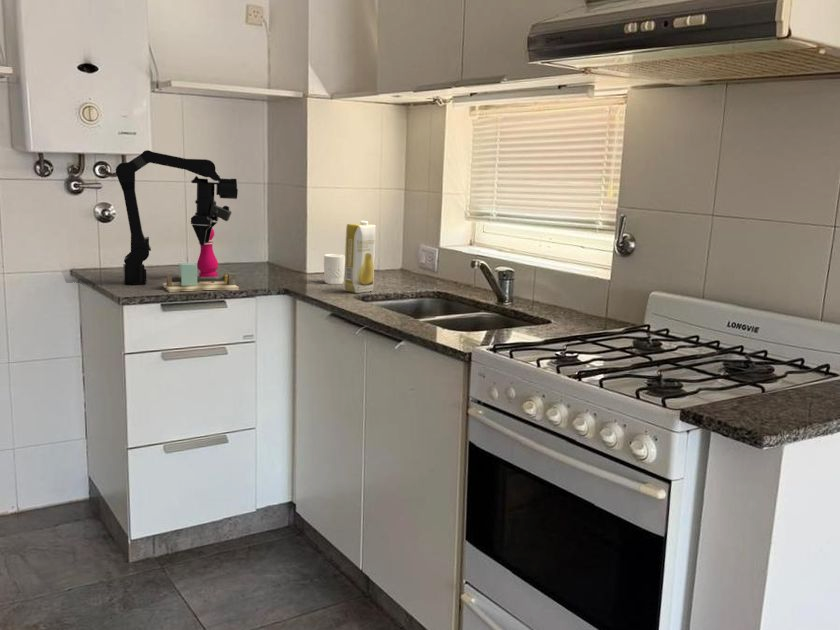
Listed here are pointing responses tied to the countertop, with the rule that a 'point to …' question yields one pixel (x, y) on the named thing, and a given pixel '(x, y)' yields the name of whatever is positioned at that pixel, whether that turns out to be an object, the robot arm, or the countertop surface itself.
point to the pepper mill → (207, 259)
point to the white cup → (334, 268)
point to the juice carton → (359, 257)
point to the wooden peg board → (203, 284)
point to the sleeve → (188, 274)
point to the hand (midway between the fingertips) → (204, 244)
